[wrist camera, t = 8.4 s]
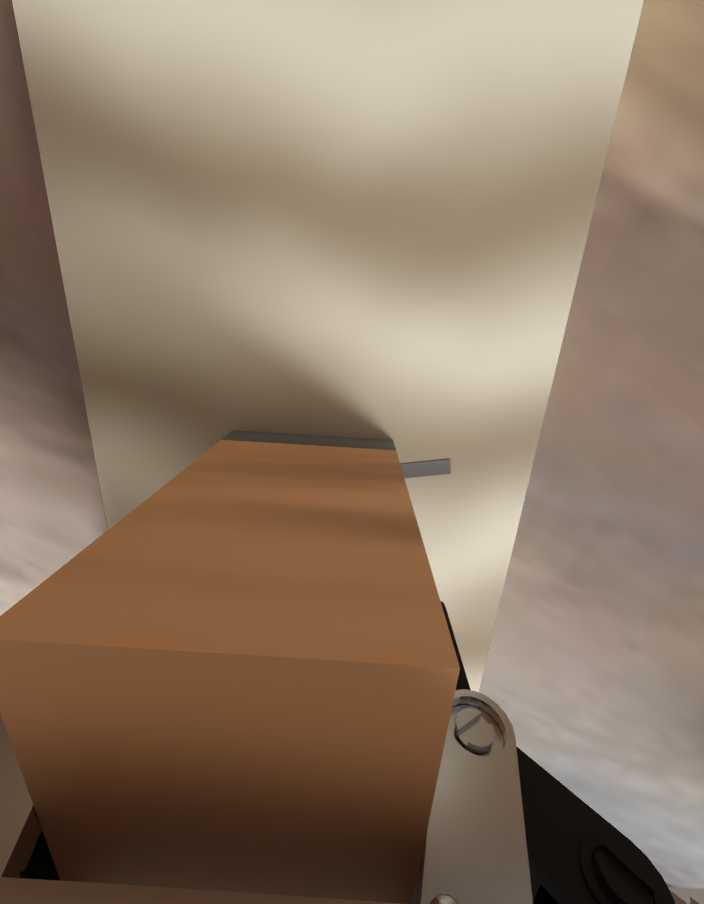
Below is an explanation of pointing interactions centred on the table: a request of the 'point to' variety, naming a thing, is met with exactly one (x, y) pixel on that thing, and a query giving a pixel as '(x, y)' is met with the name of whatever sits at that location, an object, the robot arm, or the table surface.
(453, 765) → the robot arm
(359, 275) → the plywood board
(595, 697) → the table surface
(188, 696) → the block
